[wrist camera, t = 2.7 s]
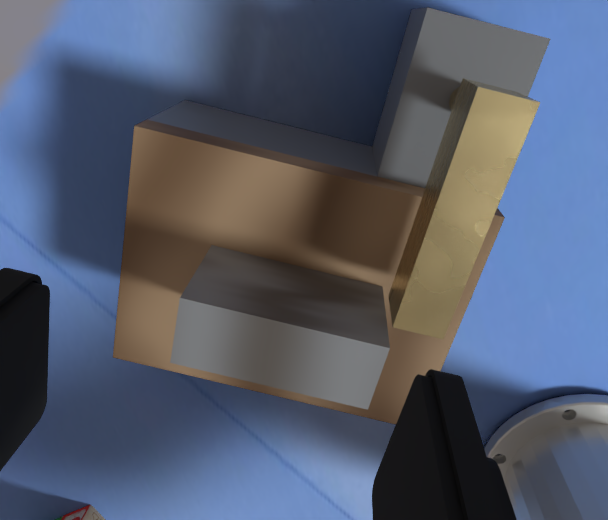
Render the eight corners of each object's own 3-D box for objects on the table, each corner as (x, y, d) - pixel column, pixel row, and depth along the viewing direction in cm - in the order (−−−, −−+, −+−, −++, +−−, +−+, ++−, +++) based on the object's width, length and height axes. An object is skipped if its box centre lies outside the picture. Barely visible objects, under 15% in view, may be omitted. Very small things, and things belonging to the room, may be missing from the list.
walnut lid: (495, 206, 24) (542, 267, 18) (412, 409, 29) (428, 510, 23) (146, 119, 24) (79, 154, 18) (124, 341, 29) (65, 425, 23)
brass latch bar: (496, 82, 22) (540, 102, 17) (425, 275, 25) (443, 339, 20) (448, 70, 22) (478, 86, 17) (384, 265, 25) (392, 327, 20)
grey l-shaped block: (519, 36, 27) (562, 42, 21) (403, 347, 35) (412, 409, 29) (203, -45, 26) (164, -60, 21) (160, 289, 34) (124, 341, 29)
